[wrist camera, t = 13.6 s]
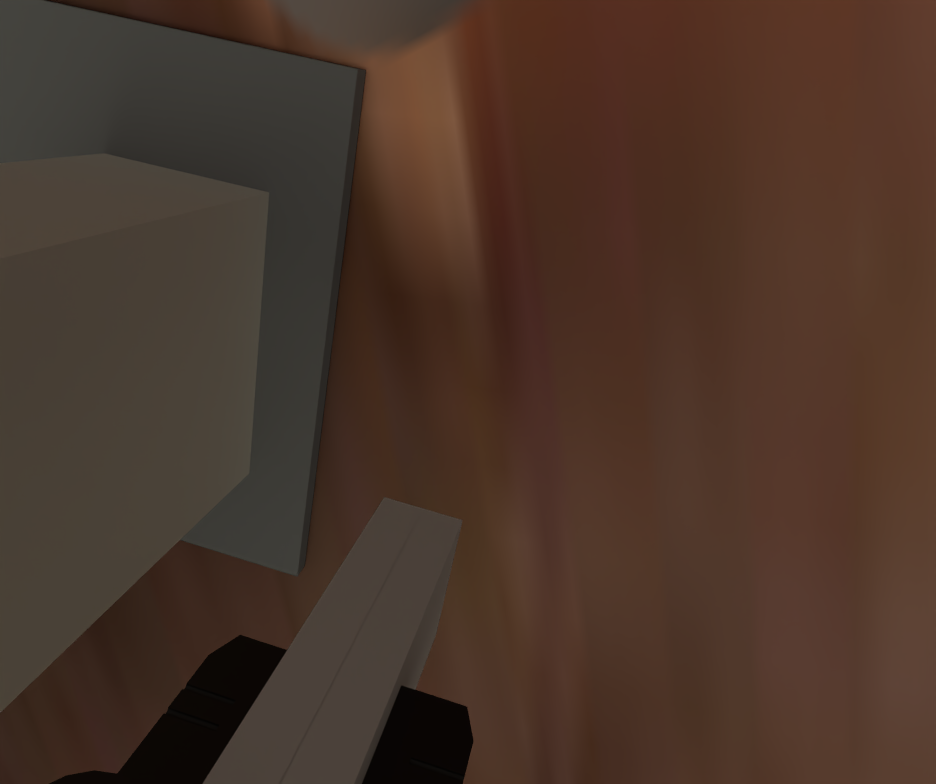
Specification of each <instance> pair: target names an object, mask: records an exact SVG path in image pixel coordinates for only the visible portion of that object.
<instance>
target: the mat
mask: <svg viewBox="0 0 936 784" xmlns="http://www.w3.org/2000/svg"><path fill="white" fill-rule="evenodd" d="M365 74H366V70H362V69H358V68H353V67H348V66H344V65H339V64H335V63H330V62H326V61H321V60H316V59H312V58H307V57H303V56H298V55H294V54H289V53H284V52H280V51H275V50H271V49H266V48H262V47H257V46H252V45H248V44H243V43H239V42H234V41H230V40H225V39H220V38H216V37H211V36H207V35H202V34H198V33H193V32H188V31H184V30H179V29H175V28H170V27H166V26H161V25H156V24H152V23H147V22H143V21H138V20H134V19H129V18H125V17H120V16H115V15H111V14H106V13H102V12H97V11H93V10H88V9H83V8H79V7H74V6H70V5H65V4H61V3H56V2H51V1H47V0H0V163H8V162H19V161H29V160H40V159H50V158H60V157H71V156H81V155H92V154H102V153H105V154H109V155H113V156H118V157H122V158H126V159H130V160H135V161H139V162H143V163H147V164H151V165H156V166H160V167H164V168H168V169H173V170H177V171H181V172H185V173H189V174H194V175H198V176H202V177H206V178H211V179H215V180H219V181H223V182H227V183H232V184H236V185H240V186H244V187H249V188H253V189H257V190H261V191H265V192H269V202H268V216H267V230H266V244H265V259H264V273H263V287H262V301H261V315H260V329H259V343H258V357H257V372H256V386H255V400H254V414H253V428H252V442H251V456H250V471H249V474H248V475H247V476H246V477H245V478H244V479H243V480H242V481H241V482H240V483H239V484H238V485H236V486H235V487H234V488H233V489H232V490H231V491H230V492H229V493H228V494H227V495H226V496H225V497H224V498H223V499H222V500H221V501H220V502H219V503H218V504H217V505H216V506H215V507H214V508H213V509H212V510H210V511H209V512H208V513H207V514H206V515H205V516H204V517H203V518H202V519H201V520H200V521H199V522H198V523H197V524H196V525H195V526H194V527H193V528H192V529H191V530H190V531H189V532H188V533H187V534H186V535H184V536H183V537H182V538H181V539H180V540H182V541H185V542H188V543H192V544H195V545H198V546H201V547H204V548H208V549H211V550H214V551H217V552H220V553H224V554H227V555H230V556H233V557H236V558H240V559H243V560H246V561H249V562H252V563H256V564H259V565H262V566H265V567H268V568H272V569H275V570H278V571H281V572H284V573H288V574H291V575H294V576H298V575H299V573H300V572H301V570H302V569H303V568H304V566H305V559H306V551H307V543H308V535H309V527H310V519H311V511H312V502H313V494H314V486H315V478H316V470H317V462H318V454H319V446H320V438H321V430H322V422H323V413H324V405H325V397H326V389H327V381H328V373H329V365H330V357H331V349H332V341H333V333H334V325H335V316H336V308H337V300H338V292H339V284H340V276H341V268H342V260H343V252H344V244H345V236H346V227H347V219H348V211H349V203H350V195H351V187H352V179H353V171H354V163H355V155H356V147H357V139H358V130H359V122H360V114H361V106H362V98H363V90H364V82H365Z"/></svg>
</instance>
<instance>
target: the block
mask: <svg viewBox="0 0 936 784" xmlns="http://www.w3.org/2000/svg"><path fill="white" fill-rule="evenodd" d="M268 202H269V192H265V191H261V190H257V189H253V188H249V187H244V186H240V185H236V184H232V183H227V182H223V181H219V180H215V179H211V178H206V177H202V176H198V175H194V174H189V173H185V172H181V171H177V170H173V169H168V168H164V167H160V166H156V165H151V164H147V163H143V162H139V161H135V160H130V159H126V158H122V157H118V156H113V155H109V154H105V153H102V154H92V155H81V156H71V157H60V158H50V159H40V160H29V161H19V162H8V163H0V712H1V711H3V710H4V709H5V708H6V707H7V706H8V705H9V704H10V703H11V702H12V701H13V700H14V699H15V698H16V697H17V696H18V695H19V694H20V693H21V692H22V691H23V690H24V689H25V688H26V687H27V686H29V685H30V684H31V683H32V682H33V681H34V680H35V679H36V678H37V677H38V676H39V675H40V674H41V673H42V672H43V671H44V670H45V669H46V668H47V667H48V666H49V665H50V664H51V663H52V662H53V661H55V660H56V659H57V658H58V657H59V656H60V655H61V654H62V653H63V652H64V651H65V650H66V649H67V648H68V647H69V646H70V645H71V644H72V643H73V642H74V641H75V640H76V639H77V638H78V637H79V636H81V635H82V634H83V633H84V632H85V631H86V630H87V629H88V628H89V627H90V626H91V625H92V624H93V623H94V622H95V621H96V620H97V619H98V618H99V617H100V616H101V615H102V614H103V613H104V612H105V611H107V610H108V609H109V608H110V607H111V606H112V605H113V604H114V603H115V602H116V601H117V600H118V599H119V598H120V597H121V596H122V595H123V594H124V593H125V592H126V591H127V590H128V589H129V588H130V587H131V586H133V585H134V584H135V583H136V582H137V581H138V580H139V579H140V578H141V577H142V576H143V575H144V574H145V573H146V572H147V571H148V570H149V569H150V568H151V567H152V566H153V565H154V564H155V563H156V562H157V561H158V560H160V559H161V558H162V557H163V556H164V555H165V554H166V553H167V552H168V551H169V550H170V549H171V548H172V547H173V546H174V545H175V544H176V543H177V542H178V541H179V540H180V539H181V538H182V537H183V536H184V535H186V534H187V533H188V532H189V531H190V530H191V529H192V528H193V527H194V526H195V525H196V524H197V523H198V522H199V521H200V520H201V519H202V518H203V517H204V516H205V515H206V514H207V513H208V512H209V511H210V510H212V509H213V508H214V507H215V506H216V505H217V504H218V503H219V502H220V501H221V500H222V499H223V498H224V497H225V496H226V495H227V494H228V493H229V492H230V491H231V490H232V489H233V488H234V487H235V486H236V485H238V484H239V483H240V482H241V481H242V480H243V479H244V478H245V477H246V476H247V475H248V474H249V471H250V456H251V442H252V428H253V414H254V400H255V386H256V372H257V357H258V343H259V329H260V315H261V301H262V287H263V273H264V259H265V244H266V230H267V216H268Z"/></svg>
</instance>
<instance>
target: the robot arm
mask: <svg viewBox="0 0 936 784" xmlns="http://www.w3.org/2000/svg"><path fill="white" fill-rule="evenodd" d="M461 525H462V520H460V519H457V518H453V517H450V516H447V515H443V514H440V513H436V512H433V511H430V510H426V509H423V508H419V507H416V506H413V505H409V504H406V503H402V502H399V501H396V500H392V499H389V498H385V497H384V498H383V500H382V501H381V503H380V505H379V506H378V508H377V509H376V511H375V513H374V514H373V516H372V517H371V519H370V520H369V522H368V524H367V525H366V527H365V528H364V530H363V531H362V533H361V535H360V536H359V538H358V539H357V541H356V543H355V544H354V546H353V547H352V549H351V550H350V552H349V554H348V555H347V557H346V558H345V560H344V561H343V563H342V565H341V566H340V568H339V569H338V571H337V572H336V574H335V576H334V577H333V579H332V580H331V582H330V584H329V585H328V587H327V588H326V590H325V591H324V593H323V595H322V596H321V598H320V599H319V601H318V602H317V604H316V606H315V607H314V609H313V610H312V612H311V614H310V615H309V617H308V618H307V620H306V621H305V623H304V625H303V626H302V628H301V629H300V631H299V632H298V634H297V636H296V637H295V639H294V640H293V642H292V643H291V645H290V647H289V648H288V650H285V649H282V648H279V647H276V646H273V645H270V644H267V643H264V642H260V641H257V640H254V639H251V638H248V637H245V636H242V635H239V636H238V637H236V638H235V639H233V640H231V641H230V642H228V643H227V644H225V645H224V646H222V647H221V648H219V649H217V650H216V651H214V652H213V653H211V654H210V655H208V657H207V658H206V659H205V661H204V662H203V663H202V664H201V666H200V667H199V668H198V670H197V671H196V672H195V674H194V675H193V676H192V677H191V679H190V680H189V681H188V683H187V685H186V688H185V689H184V690H183V689H182V690H181V692H180V693H179V694H178V696H177V697H176V698H175V699H174V701H173V702H172V703H171V705H170V706H169V707H168V711H167V712H166V714H163V715H162V716H161V718H160V719H159V720H158V722H157V723H156V724H155V725H154V727H153V728H152V729H151V731H150V732H149V733H148V735H147V736H146V737H145V738H144V740H143V741H142V742H141V744H140V745H139V746H138V748H137V749H136V750H135V751H134V753H133V754H132V755H131V757H130V758H129V759H128V761H127V762H126V763H125V764H124V766H123V767H122V768H121V770H120V771H119V772H118V773H117V774H115V773H108V772H101V771H89V772H83V773H78V774H72V775H67V776H64V777H62V778H60V779H58V780H56V781H54V782H52V783H50V784H463V780H464V776H465V772H466V768H467V764H468V760H469V756H470V752H471V748H472V744H473V736H472V731H471V725H470V720H469V715H468V710H467V707H466V706H463V705H460V704H457V703H454V702H451V701H448V700H445V699H442V698H439V697H436V696H433V695H430V694H427V693H424V692H420V691H417V690H416V687H417V684H418V682H419V679H420V676H421V673H422V671H423V668H424V665H425V663H426V660H427V657H428V655H429V652H430V649H431V647H432V644H433V641H434V639H435V636H436V633H437V628H438V624H439V620H440V615H441V611H442V607H443V602H444V598H445V594H446V589H447V585H448V581H449V576H450V572H451V568H452V564H453V559H454V555H455V551H456V546H457V542H458V538H459V533H460V529H461Z"/></svg>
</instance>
